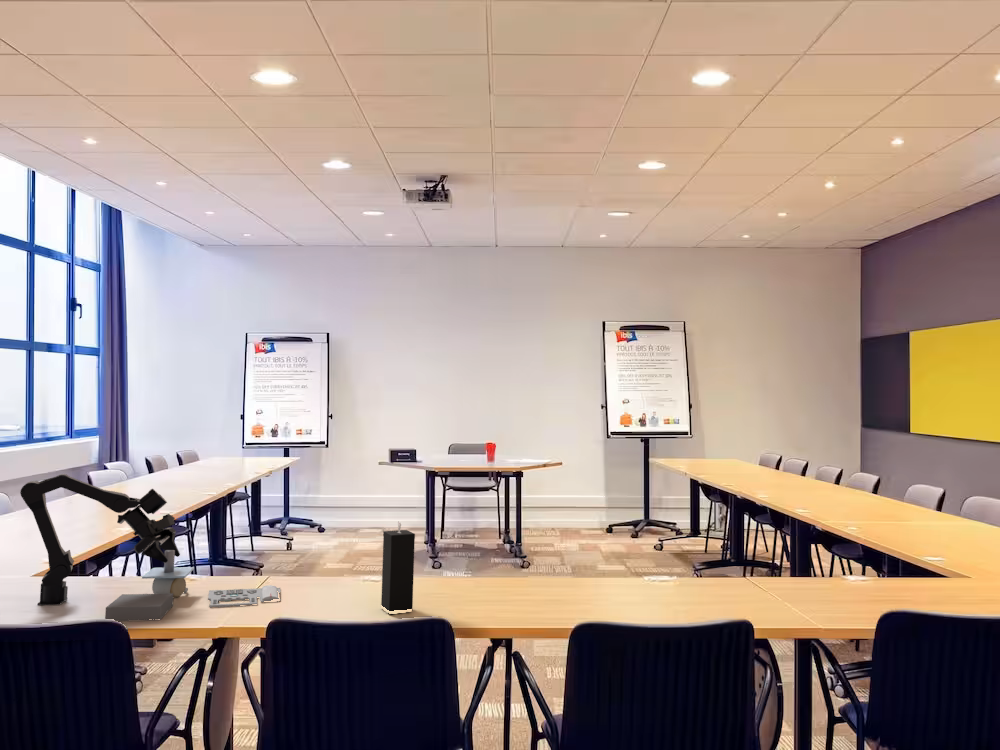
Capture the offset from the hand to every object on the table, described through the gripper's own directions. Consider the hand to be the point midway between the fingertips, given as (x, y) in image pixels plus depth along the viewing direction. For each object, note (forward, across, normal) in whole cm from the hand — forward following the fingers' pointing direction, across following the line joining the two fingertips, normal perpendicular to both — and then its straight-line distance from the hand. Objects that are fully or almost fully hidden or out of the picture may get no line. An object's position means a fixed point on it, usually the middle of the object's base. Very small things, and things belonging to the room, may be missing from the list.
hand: (173, 558), depth 243 cm
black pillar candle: (+62, -10, -44) cm, 77 cm away
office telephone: (+26, +1, -7) cm, 27 cm away
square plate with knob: (+3, 0, +4) cm, 5 cm away
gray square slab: (+8, -19, +10) cm, 23 cm away
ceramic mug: (+9, +2, +10) cm, 13 cm away
